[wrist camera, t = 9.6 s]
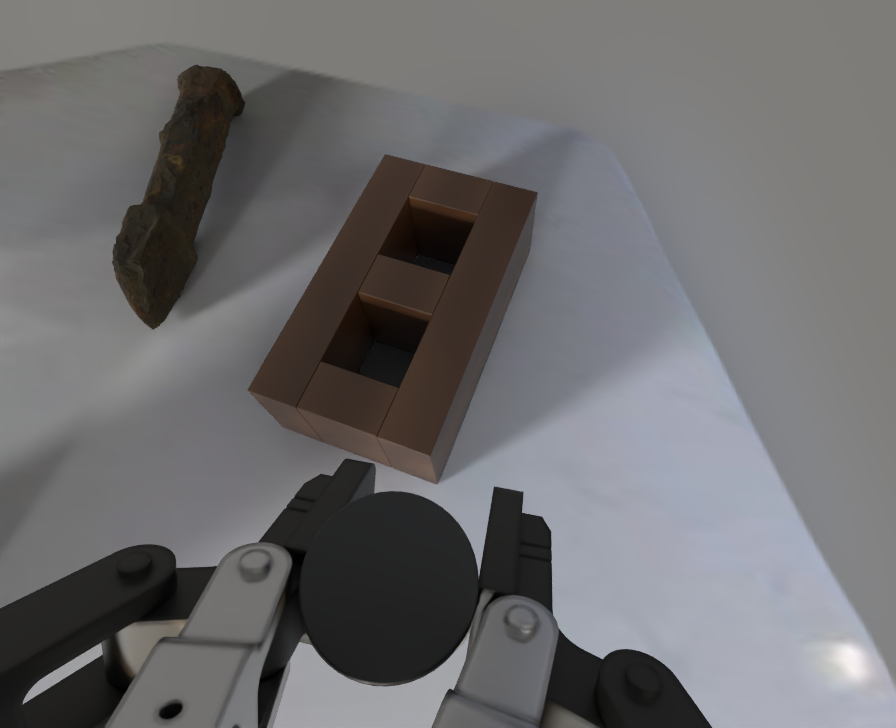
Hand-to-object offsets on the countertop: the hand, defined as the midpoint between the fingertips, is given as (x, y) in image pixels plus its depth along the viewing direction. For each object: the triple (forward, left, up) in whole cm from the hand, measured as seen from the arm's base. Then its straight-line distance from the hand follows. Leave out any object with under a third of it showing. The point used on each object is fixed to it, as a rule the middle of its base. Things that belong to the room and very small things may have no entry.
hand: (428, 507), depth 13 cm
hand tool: (-24, +15, -14) cm, 31 cm away
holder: (-7, +11, -14) cm, 19 cm away
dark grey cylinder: (0, -2, -5) cm, 5 cm away
